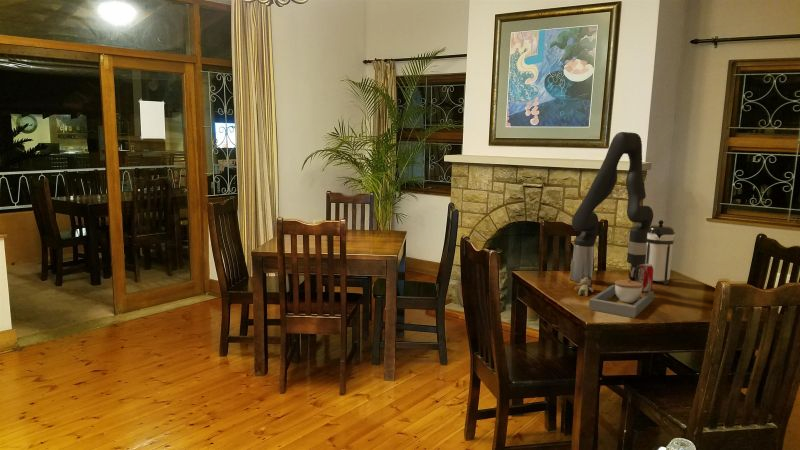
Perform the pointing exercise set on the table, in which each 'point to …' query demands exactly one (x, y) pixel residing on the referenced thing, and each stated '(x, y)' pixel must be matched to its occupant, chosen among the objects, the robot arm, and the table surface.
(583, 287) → the figurine
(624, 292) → the lidded jar
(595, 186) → the robot arm
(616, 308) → the tray
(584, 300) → the table surface
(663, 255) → the coffee press
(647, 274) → the soda can
